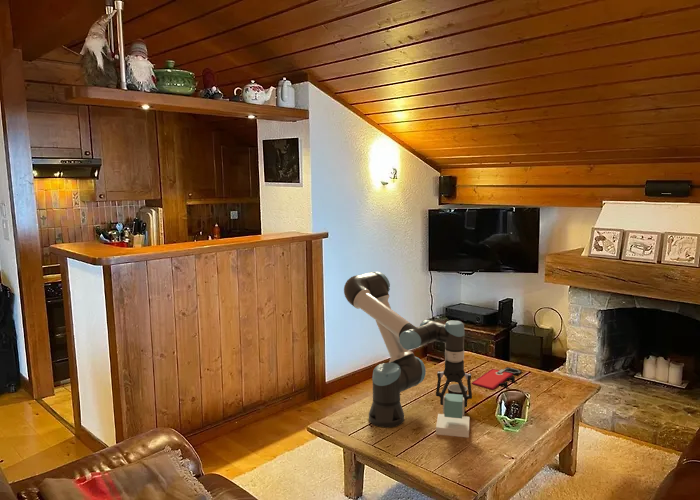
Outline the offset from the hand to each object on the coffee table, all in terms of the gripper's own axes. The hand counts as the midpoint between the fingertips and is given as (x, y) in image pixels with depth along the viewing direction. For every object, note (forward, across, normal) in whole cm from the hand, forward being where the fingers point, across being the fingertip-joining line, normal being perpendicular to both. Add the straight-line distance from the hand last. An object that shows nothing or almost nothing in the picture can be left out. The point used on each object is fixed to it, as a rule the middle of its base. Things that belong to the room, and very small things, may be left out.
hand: (453, 412), depth 222 cm
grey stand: (+7, 0, 0) cm, 7 cm away
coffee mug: (+7, +1, +20) cm, 21 cm away
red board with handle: (+8, +20, +57) cm, 61 cm away
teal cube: (0, 0, 0) cm, 0 cm away
